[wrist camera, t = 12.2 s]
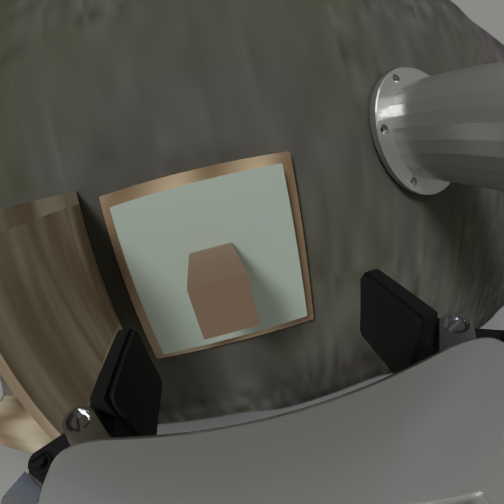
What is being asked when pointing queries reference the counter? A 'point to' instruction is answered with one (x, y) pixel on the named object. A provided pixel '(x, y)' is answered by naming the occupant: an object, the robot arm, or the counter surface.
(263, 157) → the tray
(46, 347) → the box
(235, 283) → the lid
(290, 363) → the counter surface
